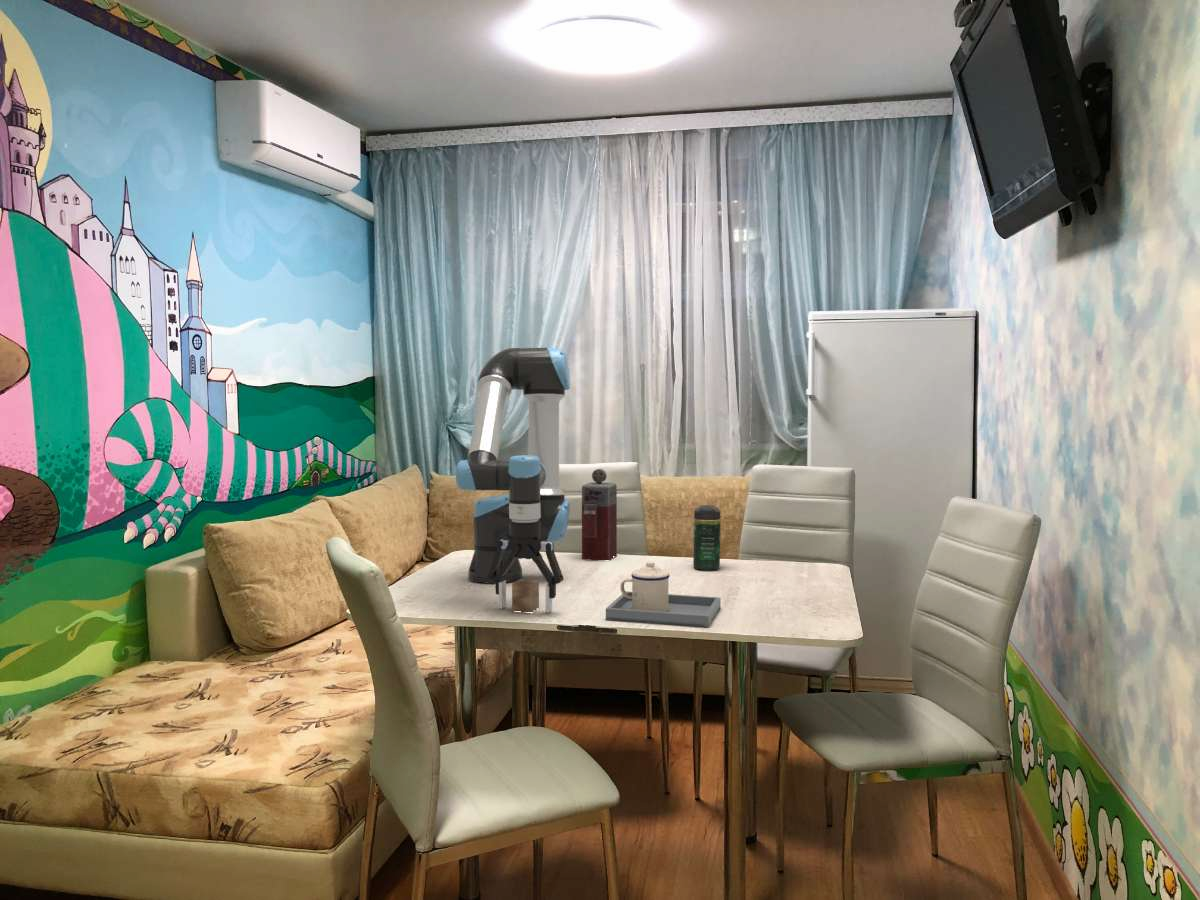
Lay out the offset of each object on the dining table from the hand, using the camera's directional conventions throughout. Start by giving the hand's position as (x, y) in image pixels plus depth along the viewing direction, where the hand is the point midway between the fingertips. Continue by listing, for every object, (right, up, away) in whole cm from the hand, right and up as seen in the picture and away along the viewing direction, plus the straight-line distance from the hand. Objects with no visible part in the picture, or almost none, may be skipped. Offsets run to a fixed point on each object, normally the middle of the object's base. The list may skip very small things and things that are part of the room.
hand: (525, 609), depth 216 cm
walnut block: (0, 0, 0) cm, 0 cm away
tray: (+33, 0, -3) cm, 34 cm away
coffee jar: (+50, +3, +49) cm, 70 cm away
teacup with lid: (+29, 0, -2) cm, 29 cm away
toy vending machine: (+17, +4, +64) cm, 66 cm away
